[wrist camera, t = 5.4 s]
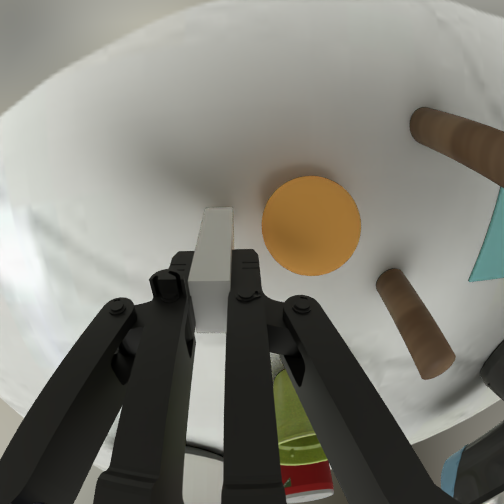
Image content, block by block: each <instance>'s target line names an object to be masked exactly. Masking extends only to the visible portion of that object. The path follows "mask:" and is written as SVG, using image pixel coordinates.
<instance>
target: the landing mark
mask: <svg viewBox="0 0 504 504" xmlns="http://www.w3.org/2000/svg"><path fill="white" fill-rule="evenodd" d="M497 278H504V188H503V187H501V188H500V192H499V196H498V199H497V203H496V206H495V210H494V213H493V216H492V220H491V223H490V226H489V229H488V232H487V235H486V237H485V240H484V243H483V246H482V248H481V251H480V254H479V256H478V259H477V261H476V264H475V266H474V269H473V271H472V273H471V276H470V278H469V280H468V281H469V282H474V281H482V280H490V279H497Z"/></svg>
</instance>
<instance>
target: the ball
mask: <svg viewBox="0 0 504 504" xmlns="http://www.w3.org/2000/svg"><path fill="white" fill-rule="evenodd" d="M360 232H361V219H360V214H359V211H358V208H357V206H356V204H355V202H354V200H353V198H352V197H351V196H350V194H349V193H348V192H347V191H346V190H345V189H344V188H343V187H342V186H340V185H339V184H337V183H336V182H334V181H332V180H329V179H327V178H323V177H319V176H304V177H298V178H295V179H292V180H290V181H288V182H286V183H285V184H283V185H282V186H280V187H279V188H278V189H277V190H276V191H275V192H274V193H273V195H272V196H271V197H270V199H269V200H268V202H267V204H266V206H265V209H264V212H263V217H262V234H263V239H264V242H265V245H266V247H267V249H268V251H269V252H270V254H271V255H272V257H273V258H274V259H275V260H276V261H277V262H278V263H279V264H280V265H282V266H283V267H284V268H286V269H287V270H289V271H291V272H294V273H296V274H300V275H306V276H318V275H323V274H327V273H330V272H332V271H334V270H336V269H338V268H339V267H341V266H342V265H343V264H344V263H345V262H346V261H347V260H348V259H349V258H350V257H351V256H352V254H353V252H354V251H355V249H356V247H357V244H358V242H359V238H360Z"/></svg>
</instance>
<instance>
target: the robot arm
mask: <svg viewBox="0 0 504 504" xmlns="http://www.w3.org/2000/svg"><path fill="white" fill-rule="evenodd" d="M149 281H150V285H151V289H152V293H153V300H152V301H150V302H147V303H143V304H139V305H134V304H133V302H132V301H131V300H130V299H128V298H121V297H120V298H116V299H113V300H111V301H109V302H108V303H107V304H105V305H104V307H103V308H102V309H101V310H100V312H99V313H98V314H97V315H96V317H95V318H94V319H93V321H92V322H91V323H90V324H89V326H88V327H87V328H86V330H85V331H84V332H83V334H82V335H81V336H80V338H79V339H78V340H77V342H76V343H75V344H74V346H73V347H72V348H71V350H70V351H69V352H68V354H67V355H66V357H65V358H64V359H63V361H62V362H61V364H60V365H59V366H58V368H57V369H56V371H55V372H54V374H53V375H52V377H51V378H50V379H49V381H48V382H47V384H46V385H45V387H44V388H43V390H42V391H41V393H40V394H39V396H38V397H37V399H36V400H35V402H34V404H33V405H32V407H31V408H30V410H29V411H28V413H27V415H26V416H25V418H24V420H23V421H22V423H21V424H20V426H19V428H18V429H17V431H16V433H15V434H14V436H13V438H12V440H11V441H10V443H9V445H8V447H7V448H6V450H5V452H4V454H3V456H2V458H1V459H0V504H73V503H74V501H75V500H76V497H77V496H78V493H79V491H80V489H81V487H82V485H83V482H84V481H85V479H86V477H87V475H88V472H89V470H90V468H91V466H92V464H93V462H94V460H95V458H96V456H97V454H98V452H99V450H100V448H101V446H102V444H103V442H104V440H105V438H106V436H107V434H108V432H109V430H110V428H111V426H112V424H113V422H114V420H115V418H116V417H117V415H118V413H119V411H120V409H121V407H122V410H121V414H120V419H119V423H118V428H117V432H116V437H115V442H114V447H113V452H112V457H111V463H110V466H109V468H108V470H106V471H104V472H103V473H101V475H100V476H99V478H98V480H97V484H96V489H95V495H94V502H93V504H184V501H183V495H182V490H183V473H184V458H185V445H186V432H187V421H188V410H189V400H190V390H191V380H192V371H193V363H194V354H195V346H196V341H195V335H194V332H195V326H196V331H197V333H226V361H225V396H224V453H223V486H222V492H221V504H287V502H286V494H285V489H284V485H283V483H282V477H281V466H280V455H279V445H278V434H277V423H276V413H275V402H274V392H273V382H272V371H271V361H270V352H272V353H276V354H279V355H280V358H281V360H282V363H283V365H284V367H285V369H286V371H287V374H288V376H289V378H290V380H291V382H292V385H293V387H294V389H295V391H296V393H297V395H298V398H299V400H300V402H301V404H302V406H303V408H304V410H305V413H306V415H307V417H308V419H309V421H310V423H311V425H312V428H313V430H314V432H315V434H316V436H317V438H318V440H319V442H320V445H321V447H322V449H323V451H324V453H325V455H326V457H327V459H328V461H329V463H330V466H331V468H332V470H333V472H334V473H335V476H336V478H337V480H338V482H339V484H340V486H341V488H342V490H343V492H344V494H345V496H346V498H347V501H348V503H349V504H504V421H502V422H501V423H499V424H498V425H497V426H495V427H494V428H493V429H491V430H490V431H489V432H487V433H485V434H484V435H483V436H481V437H480V438H478V439H476V440H475V441H474V442H472V443H470V444H467V445H466V446H464V447H463V448H462V449H461V450H459V451H458V452H456V453H455V454H453V455H452V456H450V457H449V458H448V459H447V460H446V462H445V464H444V466H443V469H442V474H441V489H440V488H439V487H437V486H436V485H435V484H434V483H433V481H432V480H431V478H430V476H429V475H428V473H427V471H426V470H425V468H424V466H423V464H422V463H421V461H420V459H419V458H418V456H417V454H416V453H415V451H414V450H413V448H412V446H411V445H410V443H409V441H408V440H407V438H406V437H405V435H404V433H403V432H402V430H401V428H400V427H399V425H398V424H397V422H396V420H395V419H394V417H393V416H392V414H391V413H390V411H389V409H388V408H387V406H386V405H385V403H384V401H383V400H382V398H381V397H380V395H379V394H378V392H377V391H376V389H375V387H374V386H373V384H372V383H371V381H370V380H369V378H368V377H367V375H366V374H365V372H364V370H363V369H362V367H361V366H360V364H359V363H358V361H357V360H356V358H355V357H354V355H353V354H352V352H351V351H350V349H349V348H348V346H347V345H346V343H345V342H344V340H343V339H342V337H341V336H340V334H339V333H338V331H337V330H336V328H335V327H334V325H333V324H332V322H331V321H330V319H329V318H328V316H327V315H326V313H325V312H324V310H323V309H322V307H321V306H320V304H319V303H318V302H317V301H316V300H315V299H313V298H311V297H309V296H305V295H295V296H292V297H290V298H288V299H287V300H286V301H285V303H284V302H278V301H275V300H272V299H270V298H268V297H267V296H266V295H265V294H264V293H263V291H262V287H261V277H260V267H259V258H258V254H257V253H256V252H255V251H254V250H253V249H236V250H234V227H233V207H216V208H205V212H204V216H203V220H202V224H201V228H200V232H199V236H198V240H197V244H196V248H195V251H179V252H178V253H177V254H176V255H175V256H174V257H173V258H172V261H171V264H170V267H169V269H165V270H161V271H158V272H156V273H155V274H153V275H152V276H151V278H150V279H149ZM480 376H481V378H482V379H483V381H484V383H485V385H486V386H487V387H489V388H490V389H491V390H492V391H493V392H494V393H495V394H496V395H498V396H499V397H500V398H501V399H502V400H503V401H504V341H503V342H502V343H501V344H500V346H499V347H498V348H497V349H496V350H495V351H494V352H493V354H492V355H491V356H490V357H489V359H488V360H487V361H486V363H485V364H484V366H483V368H482V370H481V373H480ZM122 405H123V406H122Z"/></svg>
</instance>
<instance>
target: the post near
mask: <svg viewBox="0 0 504 504" xmlns="http://www.w3.org/2000/svg"><path fill="white" fill-rule="evenodd" d="M410 131H411V134H412V136H413V138H414V139H415V140H416V141H417V142H418V143H420V144H422V145H425V146H427V147H429V148H431V149H433V150H435V151H437V152H440V153H442V154H444V155H446V156H448V157H450V158H452V159H454V160H455V161H457V162H459V163H461V164H463V165H465V166H467V167H469V168H470V169H472V170H474V171H476V172H478V173H479V174H481V175H483V176H484V177H486V178H488V179H490V180H491V181H493V182H495V183H496V184H498V185H499V186H501V187H503V188H504V132H503V131H501V130H498V129H495V128H493V127H490V126H487V125H484V124H481V123H478V122H475V121H472V120H469V119H466V118H463V117H460V116H456V115H453V114H449V113H446V112H442V111H438V110H434V109H430V108H426V107H422V108H419V109H417V110H416V111H415V112H414V113H413V115H412V117H411V120H410Z"/></svg>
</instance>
